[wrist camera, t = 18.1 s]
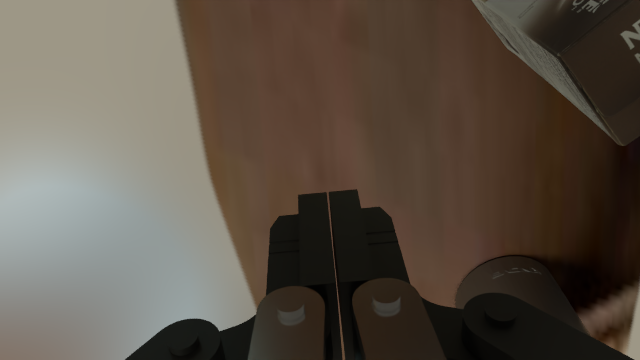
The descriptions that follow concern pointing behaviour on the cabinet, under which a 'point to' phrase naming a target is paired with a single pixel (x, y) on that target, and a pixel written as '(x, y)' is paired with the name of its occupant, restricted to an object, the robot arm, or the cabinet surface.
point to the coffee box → (579, 53)
